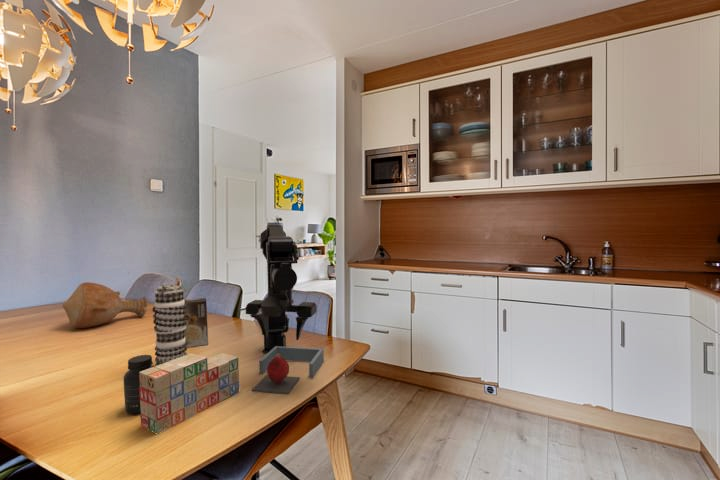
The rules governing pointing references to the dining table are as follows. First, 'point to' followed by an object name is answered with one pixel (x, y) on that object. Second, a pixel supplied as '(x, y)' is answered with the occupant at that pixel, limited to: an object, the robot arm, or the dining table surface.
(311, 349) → the u-shaped frame
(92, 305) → the jug
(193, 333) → the coffee box
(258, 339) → the dining table surface
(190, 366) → the stack of blocks
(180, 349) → the decorative candle
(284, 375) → the onion
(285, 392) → the mat
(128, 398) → the supplement bottle
